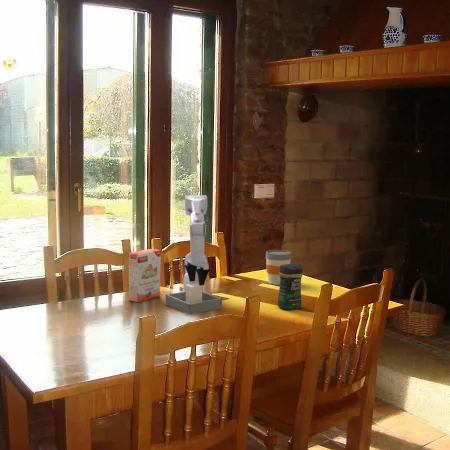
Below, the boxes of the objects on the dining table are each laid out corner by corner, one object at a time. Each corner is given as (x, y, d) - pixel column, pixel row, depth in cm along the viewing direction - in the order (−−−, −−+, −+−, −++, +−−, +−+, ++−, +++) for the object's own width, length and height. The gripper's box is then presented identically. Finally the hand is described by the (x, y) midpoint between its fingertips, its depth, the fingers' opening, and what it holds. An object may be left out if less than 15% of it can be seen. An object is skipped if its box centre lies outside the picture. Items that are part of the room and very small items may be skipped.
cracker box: (138, 303, 252) (138, 254, 249) (128, 300, 256) (127, 252, 252) (161, 296, 263) (161, 249, 260) (151, 294, 267) (151, 247, 264)
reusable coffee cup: (295, 281, 294) (296, 251, 292) (283, 287, 284) (284, 255, 281) (272, 278, 301) (273, 248, 299) (260, 283, 290) (260, 252, 288)
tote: (165, 303, 252) (165, 294, 251) (196, 298, 261) (197, 289, 261) (189, 314, 237) (189, 304, 237) (221, 308, 247) (222, 298, 246)
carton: (185, 303, 250) (185, 284, 249) (196, 301, 253) (196, 283, 252) (191, 306, 246) (191, 287, 245) (201, 304, 248) (202, 286, 247)
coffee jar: (285, 311, 244) (287, 266, 241) (274, 306, 251) (275, 263, 248) (304, 308, 249) (306, 264, 246) (293, 303, 256) (294, 261, 253)
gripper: (215, 253, 244) (214, 285, 246) (196, 247, 256) (195, 278, 258) (200, 254, 240) (199, 288, 242) (181, 248, 252) (181, 280, 254)
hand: (196, 283), depth 249 cm, fingers open, 7 cm apart
